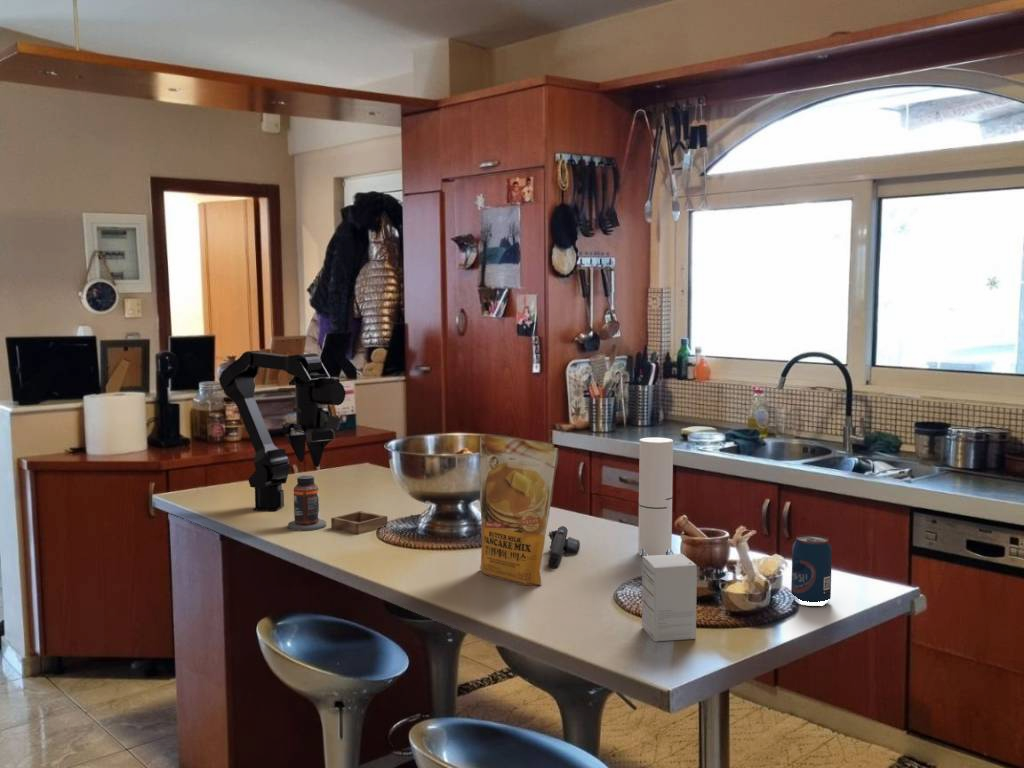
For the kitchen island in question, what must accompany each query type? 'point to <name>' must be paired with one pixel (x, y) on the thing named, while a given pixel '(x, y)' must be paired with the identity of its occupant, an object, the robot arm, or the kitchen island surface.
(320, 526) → the coaster
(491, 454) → the pancake mix bag
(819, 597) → the soda can
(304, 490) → the supplement bottle
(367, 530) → the pocket
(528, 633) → the kitchen island surface
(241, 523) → the kitchen island surface
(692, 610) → the supplement box
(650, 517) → the cylindrical container
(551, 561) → the can opener
